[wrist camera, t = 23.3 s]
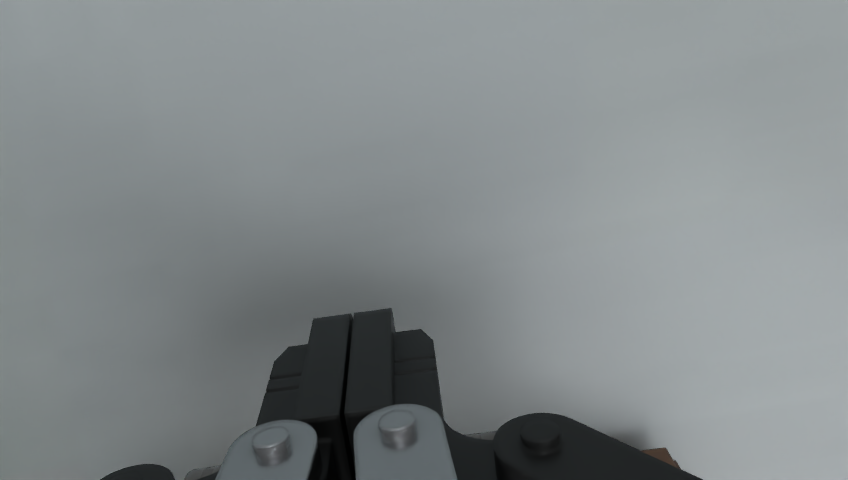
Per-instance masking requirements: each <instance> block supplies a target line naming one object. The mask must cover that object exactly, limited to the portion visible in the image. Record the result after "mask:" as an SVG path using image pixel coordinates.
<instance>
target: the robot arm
mask: <svg viewBox="0 0 848 480" xmlns="http://www.w3.org/2000/svg"><path fill="white" fill-rule="evenodd" d="M100 480H175V479H174V476H173V474H172V472H171V471H170V470H169V469H167V468H166V467H163V466H161V465H155V464H142V465H135V466H130V467H127V468H124V469H121V470H118V471H116V472H113V473H111V474H109V475H107V476H105V477H104V478H102V479H100ZM197 480H703V479H700V478H698V477H696V476H694V475H692V474H690V473H687V472H685V471H683V470H681V469H679V468H677V467H674V466H672V465H670V464H668V463H666V462H664V461H661V460H659V459H657V458H655V457H653V456H651V455H649V454H646V453H644V452H642V451H640V450H638V449H636V448H633V447H631V446H629V445H627V444H625V443H623V442H620V441H618V440H616V439H614V438H612V437H610V436H607V435H605V434H603V433H601V432H599V431H597V430H594V429H592V428H590V427H588V426H586V425H584V424H581V423H579V422H577V421H575V420H573V419H570V418H568V417H565V416H562V415H558V414H551V413H534V414H528V415H523V416H520V417H517V418H514V419H512V420H510V421H508V422H507V423H505V424H504V425H502V426H501V427H500V428H499V429H498V431H497V432H496V434H495V435H494V439H493V440H485V439H477V438H472V437H468V436H465V435H462V434H460V433H458V432H456V431H454V430H453V429H452V428H450V427H449V426H448V425H447V424H446V422H445V421H444V418H443V410H442V402H441V395H440V387H439V380H438V372H437V365H436V358H435V350H434V343H433V340H432V339H431V338H430V337H429V336H428V335H427V334H426V333H425V332H423V331H422V330H421V329H417V330H410V331H402V332H396V331H395V325H394V319H393V313H392V309H391V308H388V309H381V310H373V311H366V312H358V313H354V318H353V317H352V315H351V314H344V315H336V316H329V317H321V318H314V319H313V322H312V327H311V331H310V336H309V341H308V344H305V345H298V346H290V347H288V348H287V349H286V350H285V351H284V352H283V353H282V354H281V355H280V356H279V357H278V358H277V359H276V360H275V361H274V364H273V368H272V371H271V375H270V380H269V382H268V385H267V389H266V393H265V396H264V399H263V403H262V406H261V410H260V413H259V417H258V420H257V424H256V427H254V428H252V429H250V430H248V431H247V432H245V433H244V434H242V435H241V436H239V437H238V438H237V439H236V440H235V441H234V442H233V443H232V445H231V446H230V448H229V450H228V452H227V454H226V456H225V459H224V461H223V463H222V465H221V468H220V470H219V471H217V472H215V473H213V474H211V475H208V476H205V477H202V478H199V479H197Z"/></svg>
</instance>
